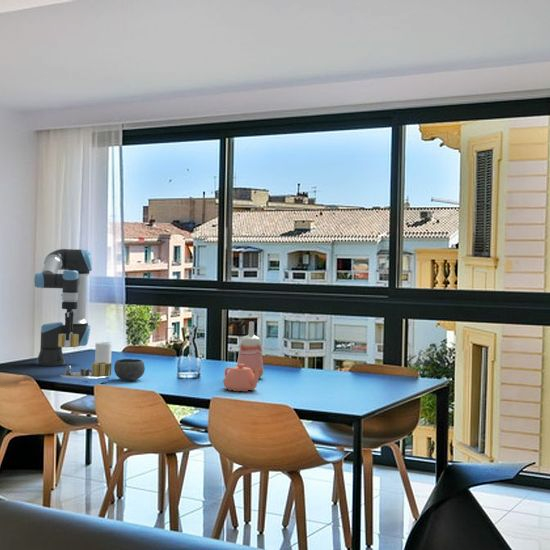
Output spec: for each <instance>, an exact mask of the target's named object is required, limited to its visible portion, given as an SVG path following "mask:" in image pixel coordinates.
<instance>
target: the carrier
mask: <svg viewBox="0 0 550 550" xmlns="http://www.w3.org/2000/svg"><path fill="white" fill-rule="evenodd" d="M59 376H60V377H62V378H66V379H82V380H81V381H82V382H81V383H83V382H84V383H85V382H86V383H89V382H88V381H89V379H90V380H91V379H102V378H106V377H108V380H109V379H110V377H109V376H104V377H101V376H92V375H91V371H90V368H86V367H85V368H80V371H71V375H66V372H64V373H60V375H59ZM83 379H84V380H83ZM85 379H88V380H85Z"/></svg>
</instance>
